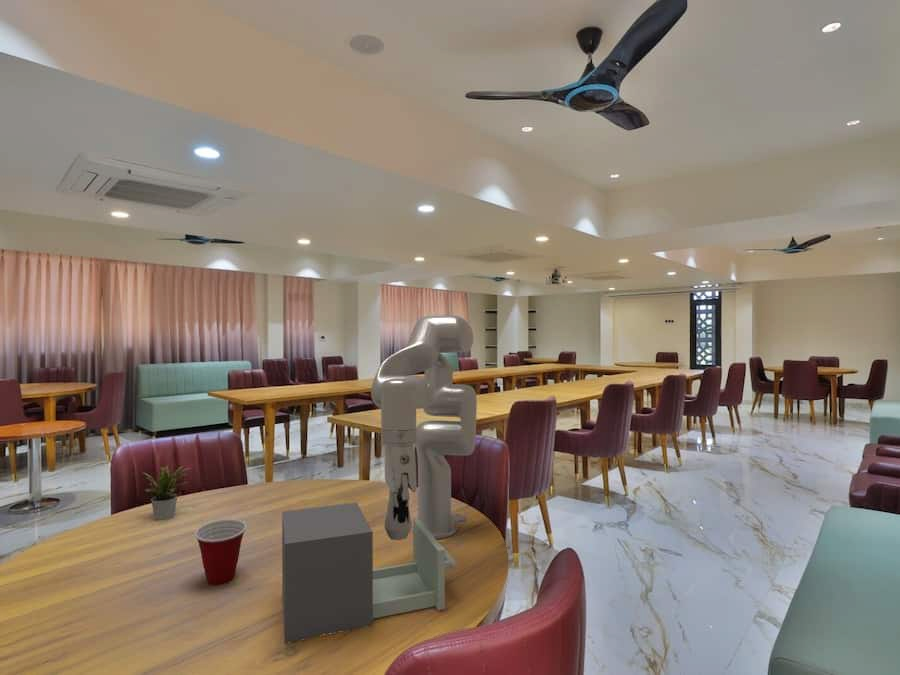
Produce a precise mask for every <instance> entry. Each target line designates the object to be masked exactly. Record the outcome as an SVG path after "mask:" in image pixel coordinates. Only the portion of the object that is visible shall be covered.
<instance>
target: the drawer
mask: <svg viewBox="0 0 900 675" xmlns="http://www.w3.org/2000/svg"><path fill="white" fill-rule="evenodd" d="M412 523H413V524H412V536H413V537H412V541H413V542H412V543H413V547H412V548H413V549H412V550H413V551H412V552H413V553H412V556H413V557H412V560H413V562H410V563H403V564H399V565H391V566H385V567H380V568H375V569H374V568H373V620H374V619H377V618H383V617H388V616H393V615H397V614H398V615H399V614H403V613H407V612H413V611H418V610H423V609H427V608H433V607H435V608H436V610H437V611H443V610H446V609H445V608H446V607H445V606H446V605H445V599H446V598H445V597H446V596H445V595H446V594H445V592H446V590H445V588H446V586H445V585H446V584H445V583H446V582H445V580H446V579H445V577H446V576H445V574H446V573H445V570H452V571H454V570H456V569H457V568H458V563H457V562H456V561H455V560H454V558H453V557H452V556H451V555H450V553H449V552H447V550H446V549H445V548H444V547H443V545H442V544H441V542H439V541H438V539H435V538H434V537H433V535H432V534H431V533H430V532H429V531H428V530H427V528H426V527H425V526H424V525H423V524H422V522H421V521H420V520H419V519H418V518H417V519H413V521H412Z"/></svg>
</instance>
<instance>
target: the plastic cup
mask: <svg viewBox="0 0 900 675" xmlns="http://www.w3.org/2000/svg"><path fill="white" fill-rule="evenodd" d="M247 526H248V525H247V524H246V523H245V521H243V520H240V519H234V518H233V519H232V518H226V519H218V520H213V521H210V522H208V523H205V524H202V525H201V526H198V528H196V530H195V532H194V537H195V538H196V540H197V542H198V545H199V549H200V554H201V556H200V557H201V561H202V566H203V570H204V575H205V580H206V583H207V584H208V585H210V586H222V585H225V584H228V583H230V582H232V581H233V580H234V579H235V576H236V573H237V566H238V562H239V558H240V550H241V545H242V540H243V537H244V533H245V531H246V529H247Z"/></svg>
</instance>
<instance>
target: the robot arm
mask: <svg viewBox="0 0 900 675" xmlns="http://www.w3.org/2000/svg"><path fill="white" fill-rule="evenodd" d="M473 344H474V333H473V329H472V327H471V325H470V324H469V323H468V322H467V321H466V320H465V319H464V318H463V317H461V316H459V315H428V316H427V315H426V316H422V317H421V318H419V319H417V321H416V322H415V324H414V326H413V330H412V332H411V334H410V337H409V339H408V341H407V344H406V347H403V348H401V349H400V350H398V351H397V352H395V353H393V354H391V355H390V356H389V357H387V358H385V359H384V360H383V362H382V363H381V364H380V365H379V367H378V368H377V371H376V374H375V376H374V378H373V381H372V384H371V388H370V389H371V390H370V394H371V396H370V397H371V399H372V401H373V404H374V405H375V406H377V407H379V408H380V412H381V413H380V415H381V416H380V417H381V419H380V420H381V421H380V422H381V423H380V426H381V427H380V428H381V429H380V431H381V432H380V434H381V440H380V443H381V445H383V446H385V448H384V482H385V484H386V485H387V487H388V488H389V490H388V492H389V493H388V498H389V497H390V491H391V490H392V491H393V492H394V493H395V507H393V517H394V520H395V518H396V516H397V514H398V522H399V523H404V522H405V521H406V518H407V521H408V523H409V512H410V508H409V507H410V505H409V500H410V491H411V492H412V493H415V492H416V491H417V520H418V519H419V520H420V521H421V522H422V524H423V525H424V526H425V527H426V528H427V530H428V531H429V532H430V533H431V534H432V535H433V537H434V538H435V539H436V540H438V539H445V538H449V537H451V536H453V535H455V533H456V532H457V524H458V523H465V522H467V521H468V516H467V514H462V515H460V513H458V512H457V513H452V494H451V493H452V469H451V466H450V464H449V462H448V460H447V459H446V458H445V456H470V455H472V454H473V453H474V451H475V448H476V441H477V440H476V439H477V438H476V437H477V436H476V435H477V412H478V410H477V409H478V408H477V405H478V402H477V393H476V390H475V388H473V386H472V385H469V384H462V383H461V384H460V383H459V384H458V383H457V384H455V383H454V384H453V380H454V378H453V376H454V368H453V366H452V364H451V363H450V361H449V360H448V359H447V358H446V357H445V355H443V354H442V353H468V352H469V351H470V350H471V349H472V347H473ZM421 372H424V376H423V375H422V376H421V375H414V374H418V373H421ZM420 409H423V410H422V411H423V412H424V413H425V414H426V415H428V416H432V417H448V418H459V419H460V420H459V421H457V420H455V421H454V420H433V419H432V420H426V421H422V422H420V423H419V424H417V410H420ZM415 448H416V452H415ZM416 455H417V457H416ZM416 458H417V462H416ZM416 464H417V466H416ZM388 484H389V485H388ZM389 486H390V487H389ZM398 489H401V490H402V491H398ZM398 495H402V496H401V497H399V499H398Z"/></svg>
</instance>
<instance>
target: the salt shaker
mask: <svg viewBox="0 0 900 675" xmlns="http://www.w3.org/2000/svg"><path fill="white" fill-rule="evenodd" d="M388 485H389V484H388ZM389 487H390V486H389ZM389 487H388V488H389ZM398 491H402V490H401V489H398ZM401 496H402V495H398V499H399V497H401ZM393 507H395V493H394V492H393V491H392V490H391V491H390V497H389V496H388V503H387V510H386V515H385V520H384V530H385V531H386V534H387V536H388V538H390V540H391V541H392V540H395V541H401V540H402V541H403V540H405V539H407V538H408V536H409V533H410V531H411V529H412V528H413V524H412V523H413V522H412V518H411V512H410V511H409V523H408V521H407V518H406V521H405V522H404V523H399V522H398V514H397V516H396V518H395V520H394V517H393Z"/></svg>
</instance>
